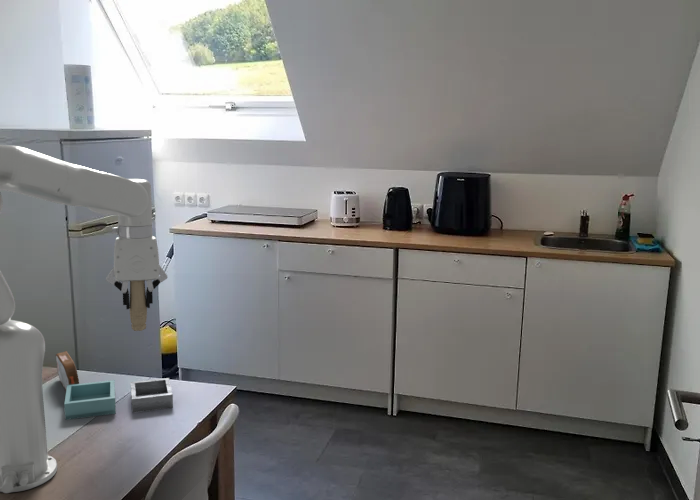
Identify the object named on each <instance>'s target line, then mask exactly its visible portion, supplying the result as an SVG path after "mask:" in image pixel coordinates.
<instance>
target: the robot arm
mask: <svg viewBox="0 0 700 500" xmlns="http://www.w3.org/2000/svg"><path fill="white" fill-rule="evenodd" d="M1 191H6V192H10V193H11V192H12V193H15V194H19V195H24V196H26V197H31V198H35V199H39V200H43V201H45V202H50V203H54V204H59V205H64V206H70V207H81V208H87V209H88V210H89V211H91V212H93V213H96V214H100V215H110V216H117V223H118V225H117V226H115V227H111V233H112V234H116V235H118V236H117V237H116V238H115V241H114V249H113V250H114V251H113V267H112V269H111V270H110V272H109V273H108V274H107V276H106V277H105V282H107V283H109V284H111V285H113V286H115V288H117V289H118V290H119V291H120V292H121V293H122V306H125V307H126V309H125V310H130V290H129V288H128V286H129V282H130V281H146V282H145V283H146V286H147V287H146V289H145V292H146V302H147V309H151V305H152V304H153V302H154V301H153V298H154V297H153V292H154V290H155V289H156V288H157V287H158V286H160V284H161V283H163V282H164V281H166V280H167V279H168V275H167V273H166V272H165V271H164V269H163V268H162V266H161V265H160V257H159V256H160V255H159V247H158V243H157V242H158V241H157V238H156V237H155V236H153V213H152V212H153V211H152V209H153V206H152V204H153V203H152V185H151V182H150V181H148V179H143V178H142V179H141V178H126V177H123V176H120V175H115V174H113V173H109V172H108V173H107V172H105V171H99V170H97V169H92V168H89V167H86V166H82V165H79V164H75V163H71V162H68V161H66V160H65V161H64V160H61V159H59V158H55V157H52V156H50V155H46V154H44V153H41V152H37V151H35V150H32V149H29V148H27V147H23V146H19V145H11V144H10V145H9V144H0V215H1V214H2V211H3V210H2V209H3V203H4V202H3V195H2V192H1ZM15 311H16V301H15V298H14V295H13V292H12V289H11V288H10V286H9V284H8V281H7V280H6V278H5V276H4V275H3V272H2V271H1V269H0V493H4V494H10V493H17V492H23V491H28V490H31V489H33V488H37V487H39V486H41V485H43V484H44V483H46V482H48V481H50V479H52V478H53V476H55V474H56V472H57V471H58V462H57V460H56V458H54V457H53V456H51V455H49V454H48V443H47V442H48V440H47V430H46V428H47V427H46V418H45V417H46V416H45V404H44V403H45V401H44V391H43V390H44V389H43V387H44V386H43V367H44V359H45V352H46V341H45V337H44V335H43V333H42V332H41V331H40V330H39V329H38V328H36V327H35V326H34V325H32V324H29V323H26V322H24V321H20V320H14V319H12V317H13V315H14V314H15Z"/></svg>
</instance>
